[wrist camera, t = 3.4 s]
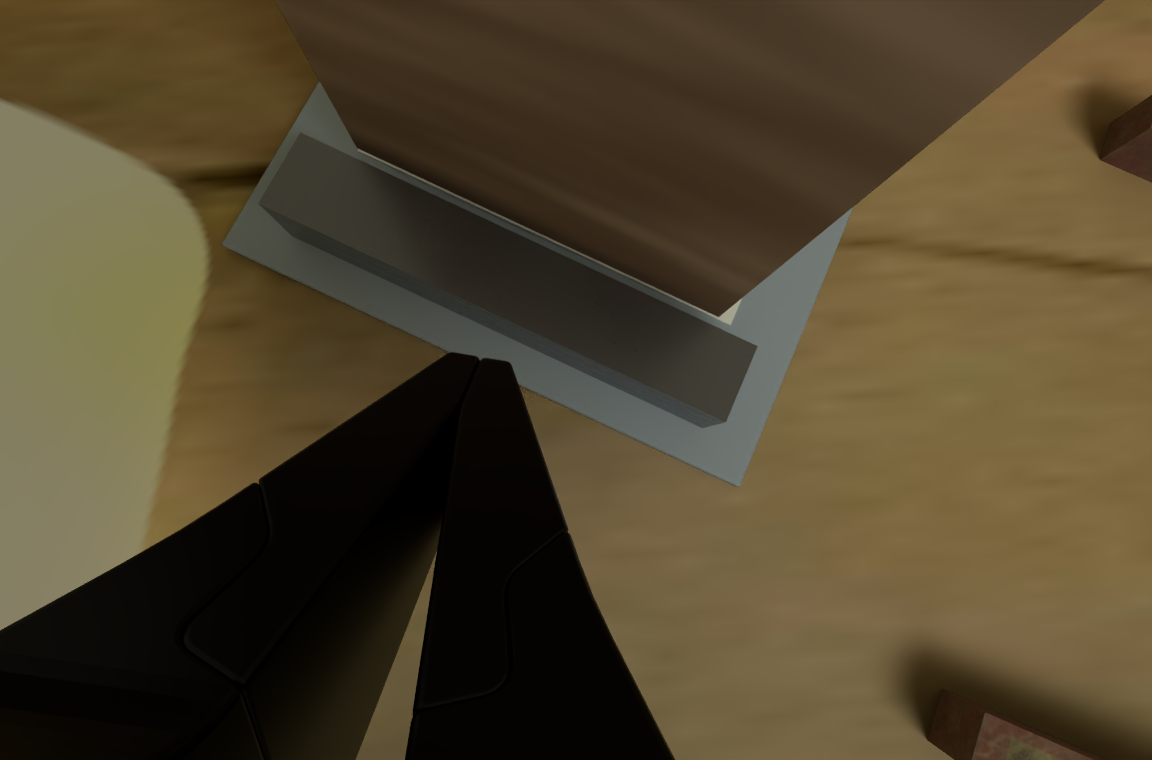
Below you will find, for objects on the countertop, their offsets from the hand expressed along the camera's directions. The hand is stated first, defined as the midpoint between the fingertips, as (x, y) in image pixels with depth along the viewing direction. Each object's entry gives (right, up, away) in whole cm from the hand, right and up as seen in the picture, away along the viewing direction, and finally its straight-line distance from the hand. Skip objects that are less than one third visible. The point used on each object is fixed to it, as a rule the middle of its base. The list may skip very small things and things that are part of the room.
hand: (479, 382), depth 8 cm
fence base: (0, +2, +8) cm, 8 cm away
